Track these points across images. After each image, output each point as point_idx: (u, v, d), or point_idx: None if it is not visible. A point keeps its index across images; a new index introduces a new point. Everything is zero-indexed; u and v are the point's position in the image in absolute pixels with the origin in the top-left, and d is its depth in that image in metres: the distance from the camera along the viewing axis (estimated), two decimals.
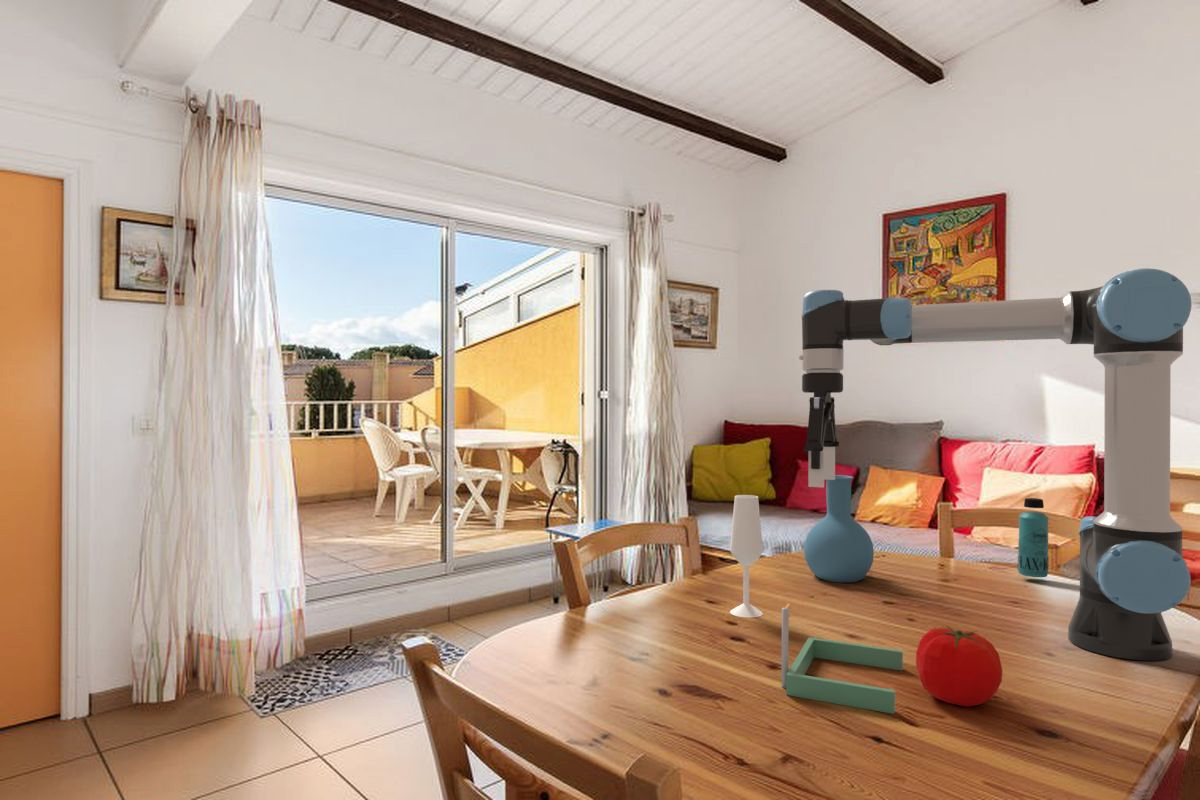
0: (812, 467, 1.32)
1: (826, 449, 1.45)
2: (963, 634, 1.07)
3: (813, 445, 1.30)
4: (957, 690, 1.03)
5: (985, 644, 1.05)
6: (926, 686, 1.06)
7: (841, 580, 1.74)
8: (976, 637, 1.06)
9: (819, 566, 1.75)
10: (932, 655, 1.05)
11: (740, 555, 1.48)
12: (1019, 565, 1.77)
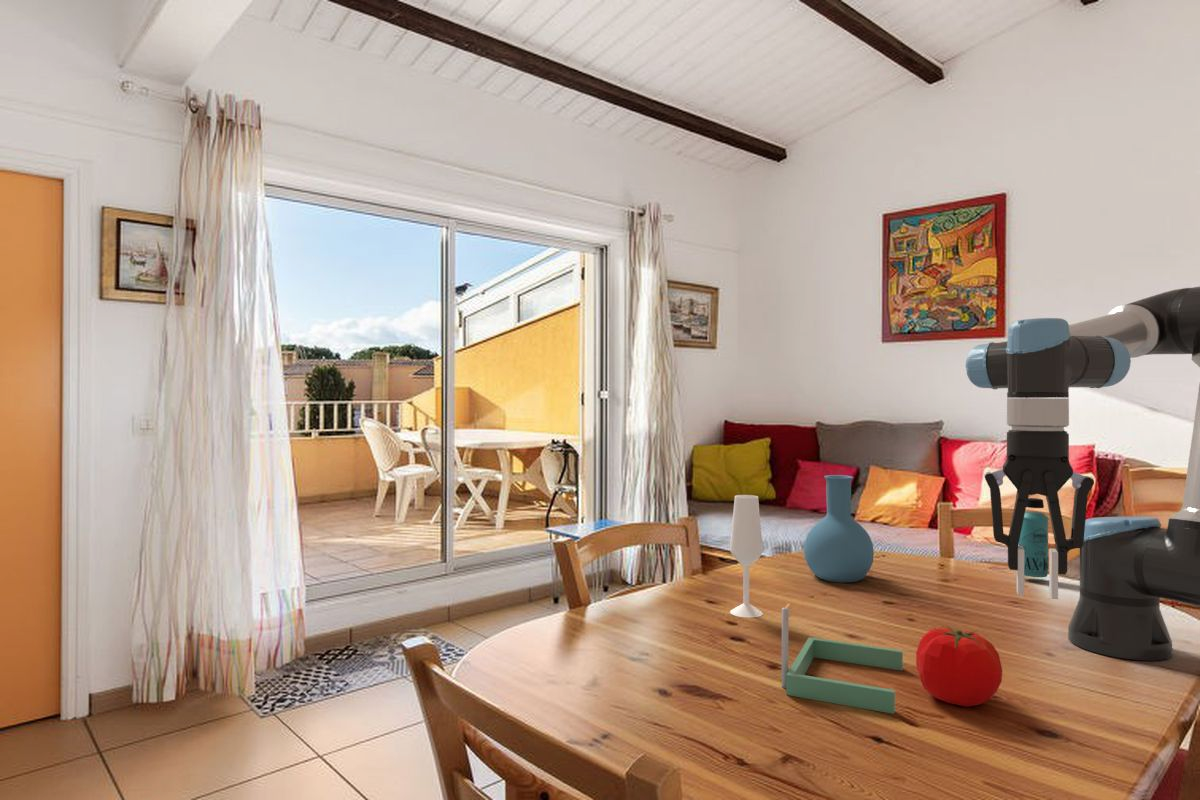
0: None
1: (1050, 553, 1.02)
2: (963, 634, 1.07)
3: None
4: (957, 690, 1.03)
5: (985, 644, 1.05)
6: (926, 686, 1.06)
7: (841, 580, 1.74)
8: (976, 637, 1.06)
9: (819, 566, 1.75)
10: (932, 655, 1.05)
11: (740, 555, 1.48)
12: None
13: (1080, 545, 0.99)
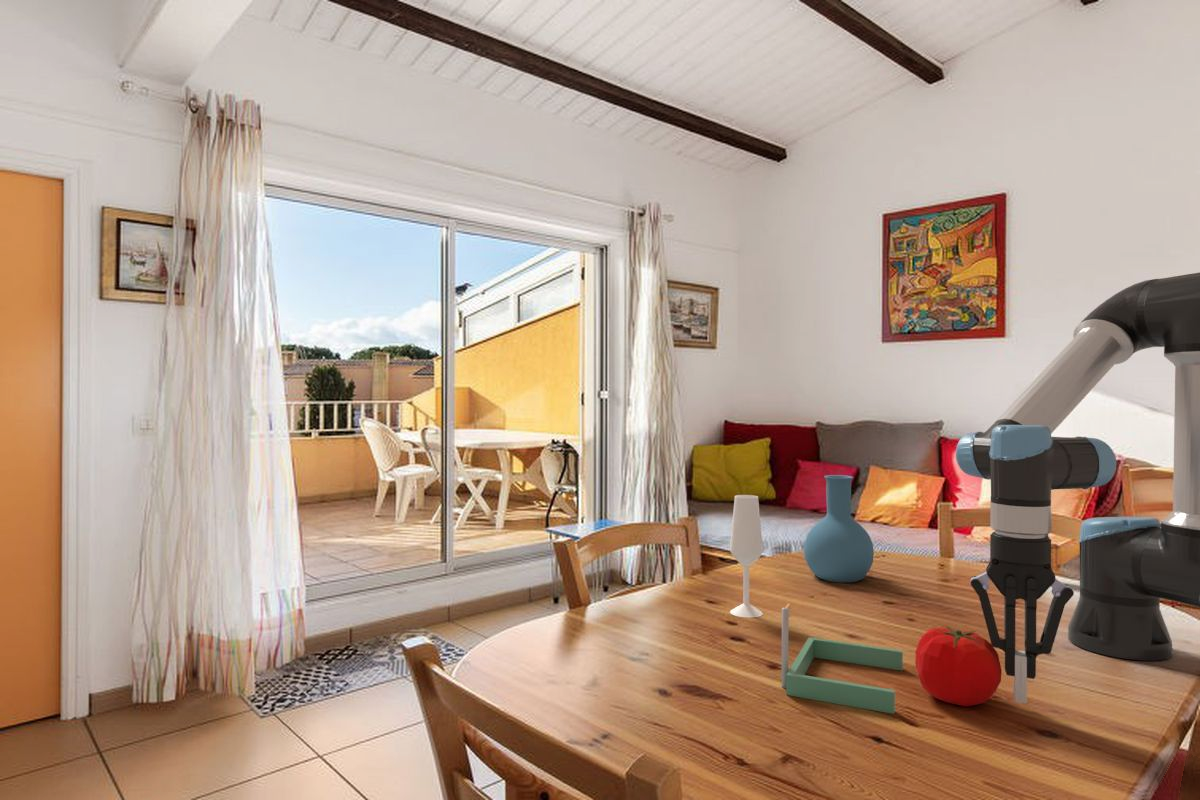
0: None
1: None
2: (962, 634, 1.07)
3: None
4: (956, 690, 1.03)
5: (984, 644, 1.05)
6: (925, 686, 1.06)
7: (841, 580, 1.74)
8: (975, 637, 1.06)
9: (819, 566, 1.75)
10: (931, 655, 1.05)
11: (740, 555, 1.48)
12: None
13: (1048, 651, 1.01)
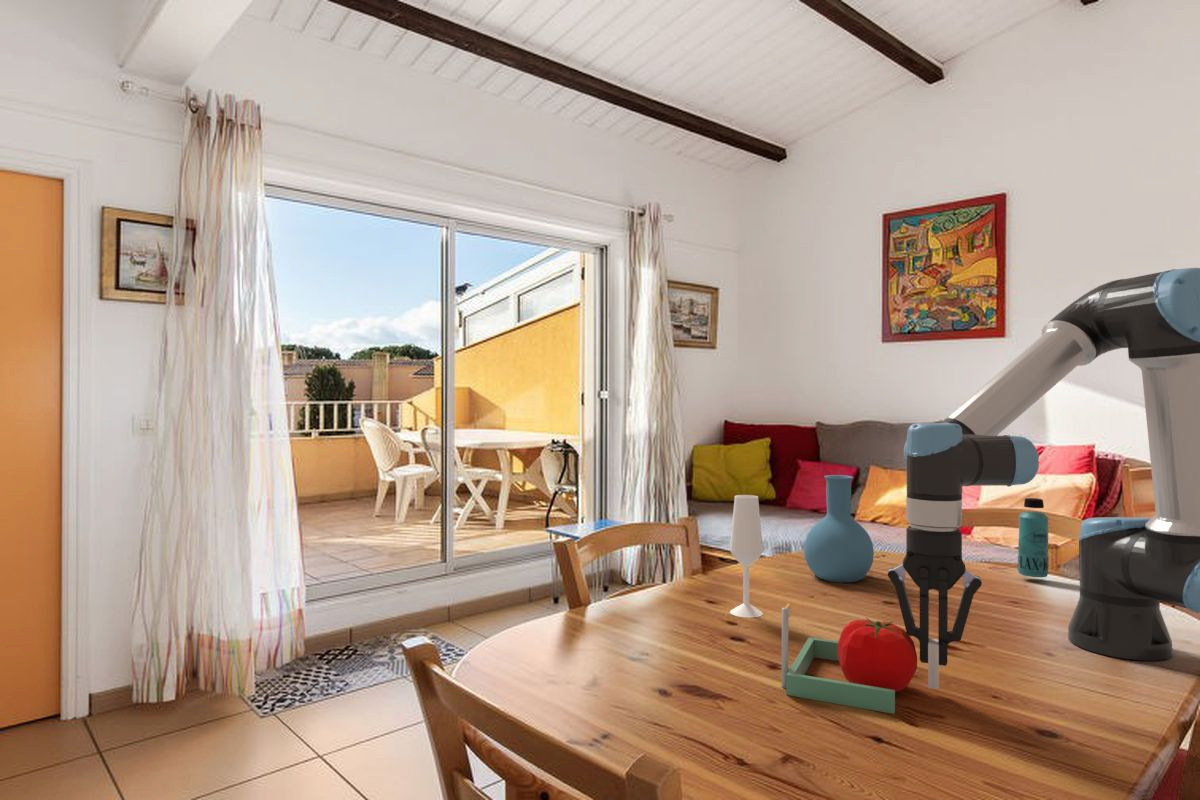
0: None
1: None
2: (881, 625, 1.11)
3: None
4: (877, 679, 1.07)
5: (902, 633, 1.10)
6: (848, 677, 1.09)
7: (841, 580, 1.74)
8: (893, 627, 1.11)
9: (819, 566, 1.75)
10: (854, 646, 1.08)
11: (740, 555, 1.48)
12: (1019, 565, 1.77)
13: (958, 639, 1.06)
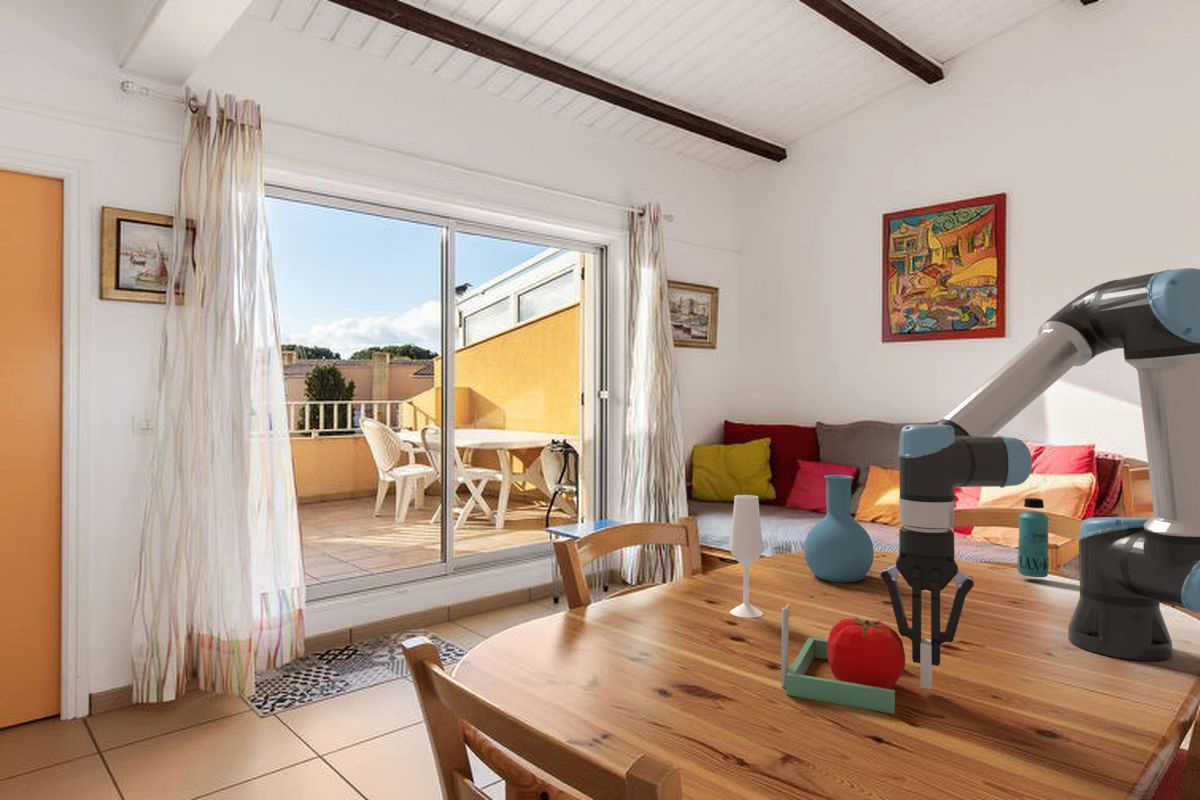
0: None
1: None
2: (870, 623, 1.12)
3: None
4: (865, 677, 1.07)
5: (890, 632, 1.10)
6: (836, 675, 1.10)
7: (841, 580, 1.74)
8: (882, 626, 1.12)
9: (819, 566, 1.75)
10: (842, 645, 1.09)
11: (740, 555, 1.48)
12: (1019, 565, 1.77)
13: (950, 640, 1.06)
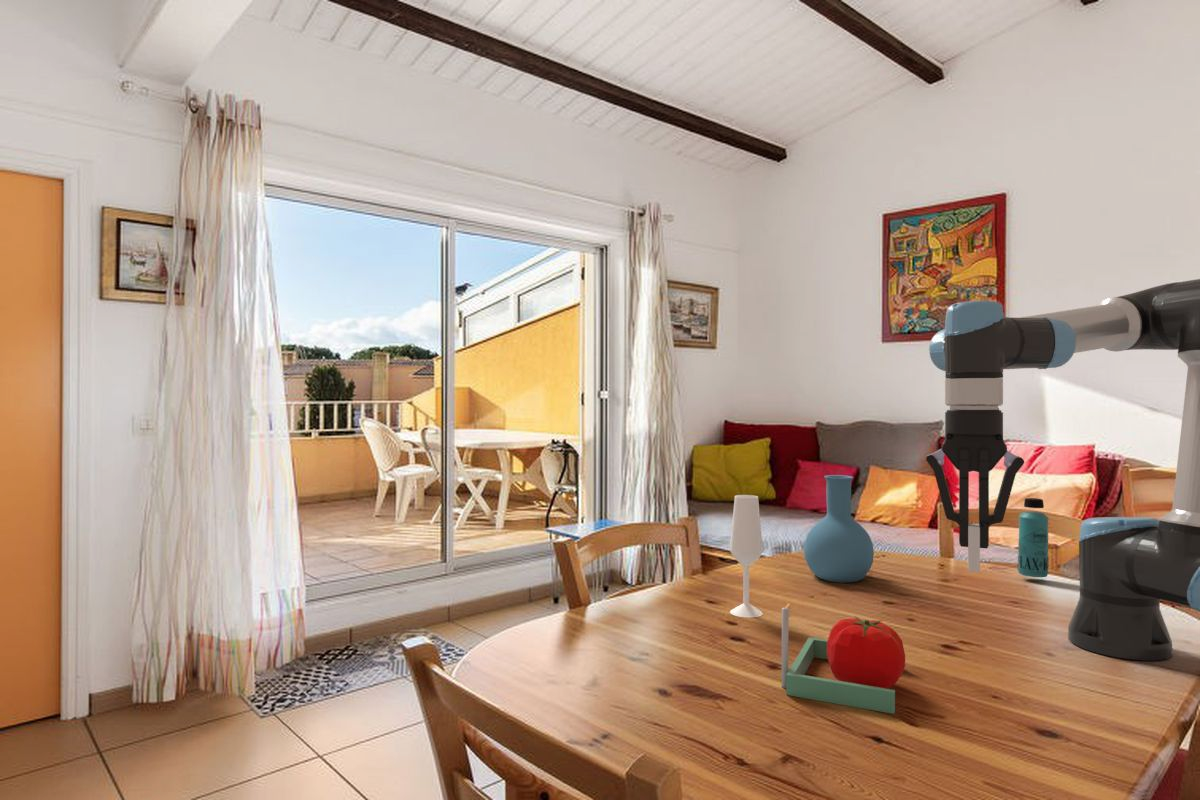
0: None
1: None
2: (870, 623, 1.12)
3: None
4: (865, 677, 1.07)
5: (890, 632, 1.10)
6: (836, 675, 1.10)
7: (841, 580, 1.74)
8: (882, 626, 1.12)
9: (819, 566, 1.75)
10: (842, 645, 1.09)
11: (740, 555, 1.48)
12: (1019, 565, 1.77)
13: (1000, 520, 1.04)
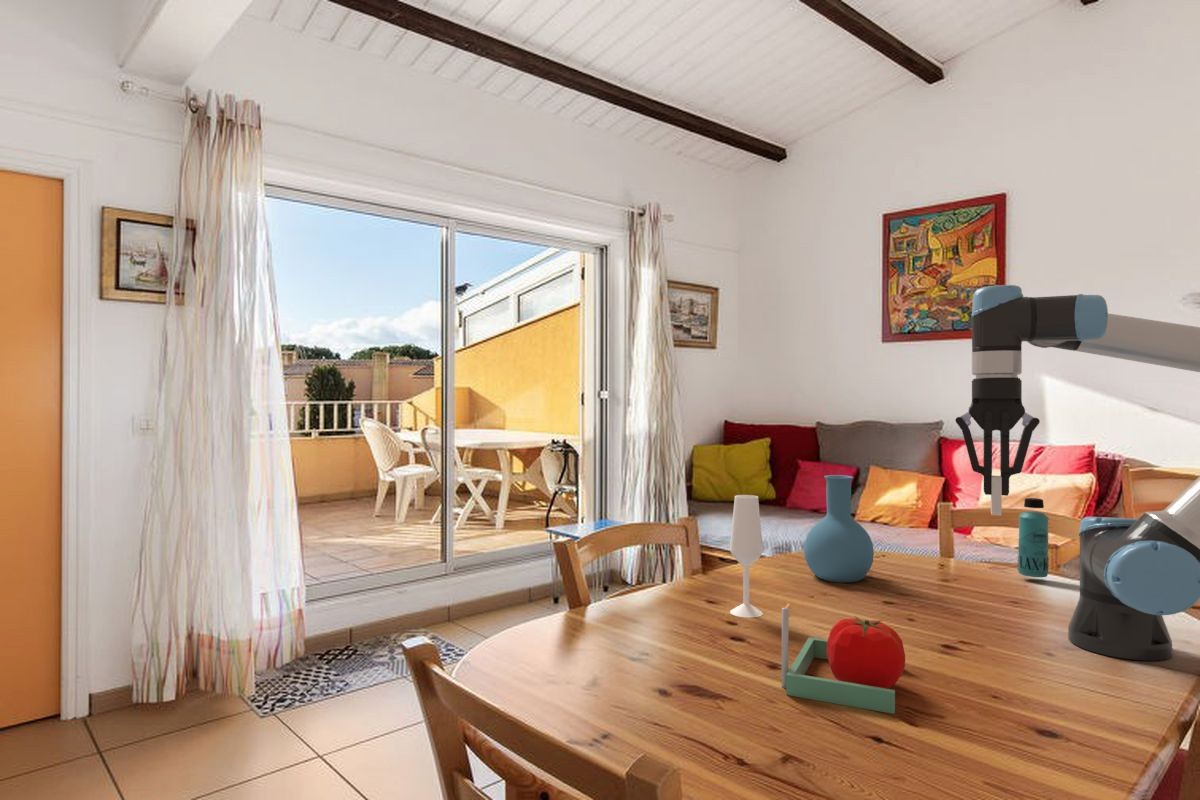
0: None
1: None
2: (870, 623, 1.12)
3: None
4: (865, 677, 1.07)
5: (890, 632, 1.10)
6: (836, 675, 1.10)
7: (841, 580, 1.74)
8: (882, 626, 1.12)
9: (819, 566, 1.75)
10: (842, 645, 1.09)
11: (740, 555, 1.48)
12: (1019, 565, 1.77)
13: (1019, 471, 1.23)
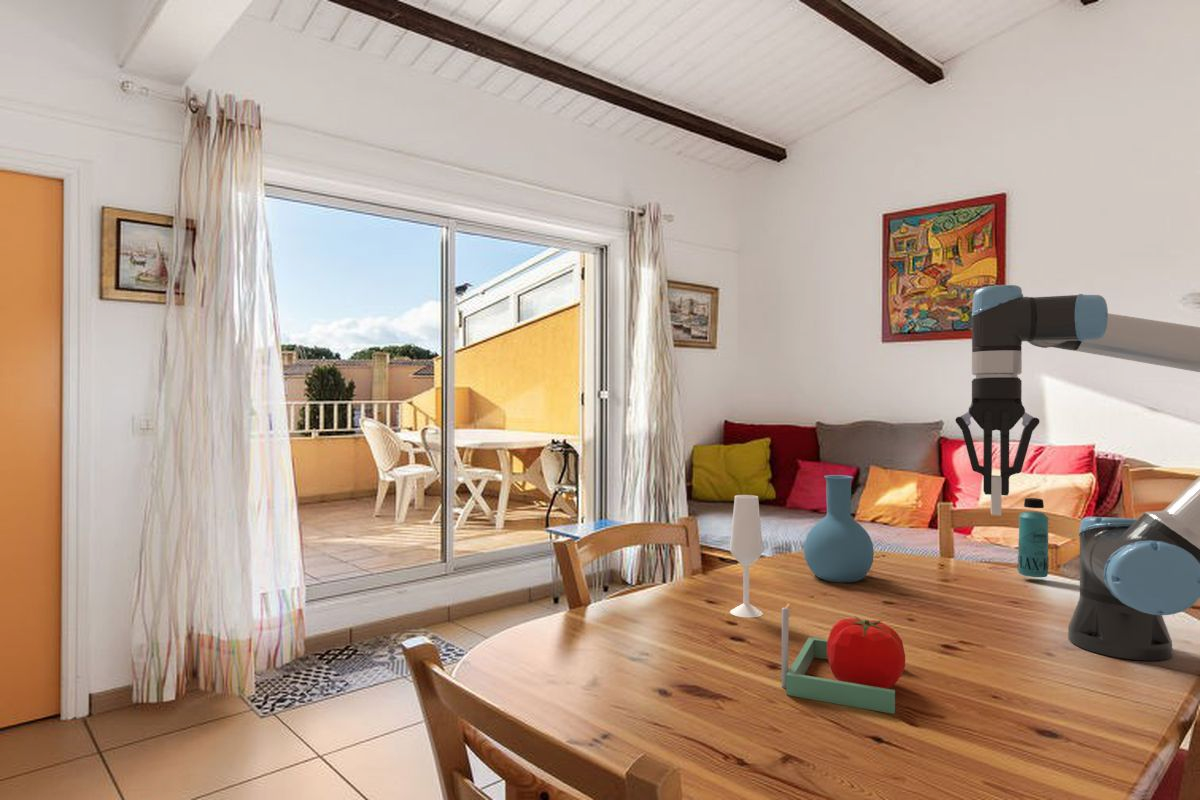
0: (984, 491, 1.26)
1: None
2: (870, 623, 1.12)
3: None
4: (865, 677, 1.07)
5: (890, 632, 1.10)
6: (836, 675, 1.10)
7: (841, 580, 1.74)
8: (882, 626, 1.12)
9: (819, 566, 1.75)
10: (842, 645, 1.09)
11: (740, 555, 1.48)
12: (1019, 565, 1.77)
13: (1018, 471, 1.23)
